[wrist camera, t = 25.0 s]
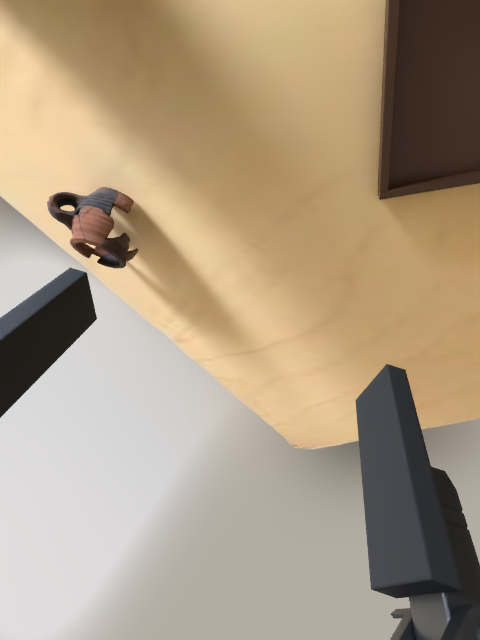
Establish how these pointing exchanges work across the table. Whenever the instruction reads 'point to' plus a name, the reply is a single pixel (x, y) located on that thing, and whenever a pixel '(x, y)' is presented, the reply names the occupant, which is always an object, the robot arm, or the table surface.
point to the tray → (430, 97)
